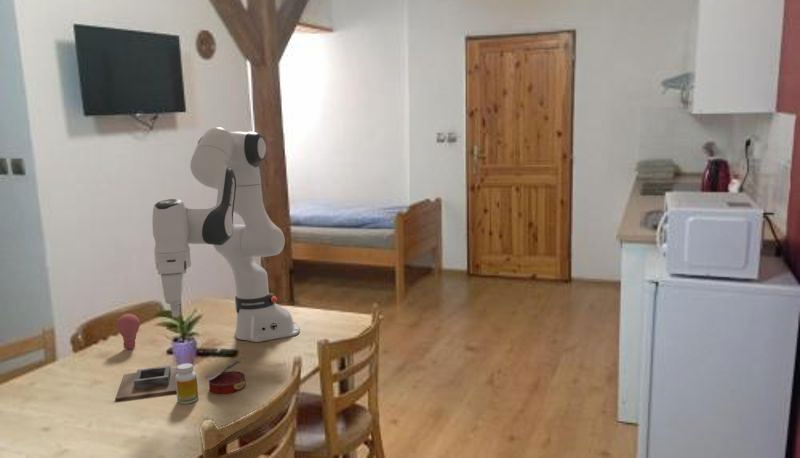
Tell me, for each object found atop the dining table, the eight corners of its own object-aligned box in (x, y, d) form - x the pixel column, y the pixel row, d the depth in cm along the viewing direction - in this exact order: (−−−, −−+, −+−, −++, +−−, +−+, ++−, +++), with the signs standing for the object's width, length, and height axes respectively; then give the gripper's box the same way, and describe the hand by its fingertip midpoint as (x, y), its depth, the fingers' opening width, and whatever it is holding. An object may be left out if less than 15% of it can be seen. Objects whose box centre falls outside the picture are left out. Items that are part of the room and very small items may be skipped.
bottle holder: (187, 368, 199) (186, 358, 198) (185, 391, 182) (184, 380, 181) (124, 376, 194) (122, 366, 193) (115, 401, 177) (114, 389, 176)
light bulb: (146, 345, 222) (142, 311, 220) (135, 352, 215) (132, 317, 213) (126, 345, 222) (122, 311, 220) (115, 352, 215) (111, 317, 213)
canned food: (222, 411, 180) (203, 386, 175) (214, 394, 188) (196, 370, 184) (257, 386, 183) (239, 360, 178) (248, 371, 191) (230, 346, 187)
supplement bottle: (200, 400, 175) (197, 366, 174) (180, 406, 173) (177, 371, 171) (195, 394, 180) (192, 360, 178) (175, 399, 177) (172, 365, 175)
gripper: (163, 255, 182) (167, 303, 184) (157, 269, 162) (161, 323, 164) (187, 253, 184) (190, 301, 186) (183, 267, 164) (187, 320, 166)
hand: (176, 311), depth 175 cm, fingers open, 8 cm apart
